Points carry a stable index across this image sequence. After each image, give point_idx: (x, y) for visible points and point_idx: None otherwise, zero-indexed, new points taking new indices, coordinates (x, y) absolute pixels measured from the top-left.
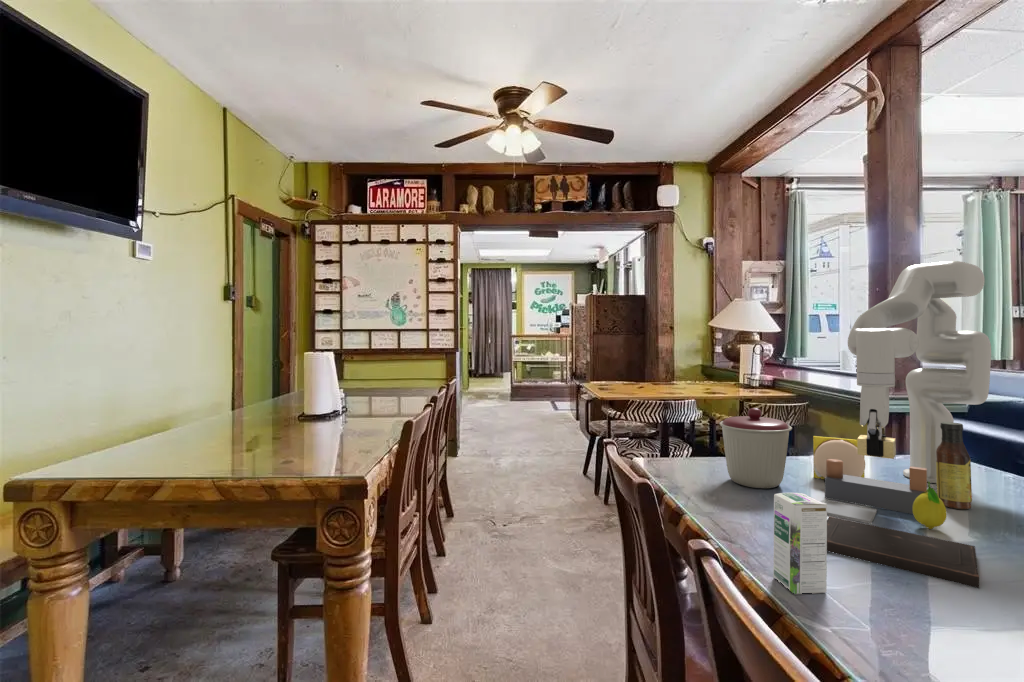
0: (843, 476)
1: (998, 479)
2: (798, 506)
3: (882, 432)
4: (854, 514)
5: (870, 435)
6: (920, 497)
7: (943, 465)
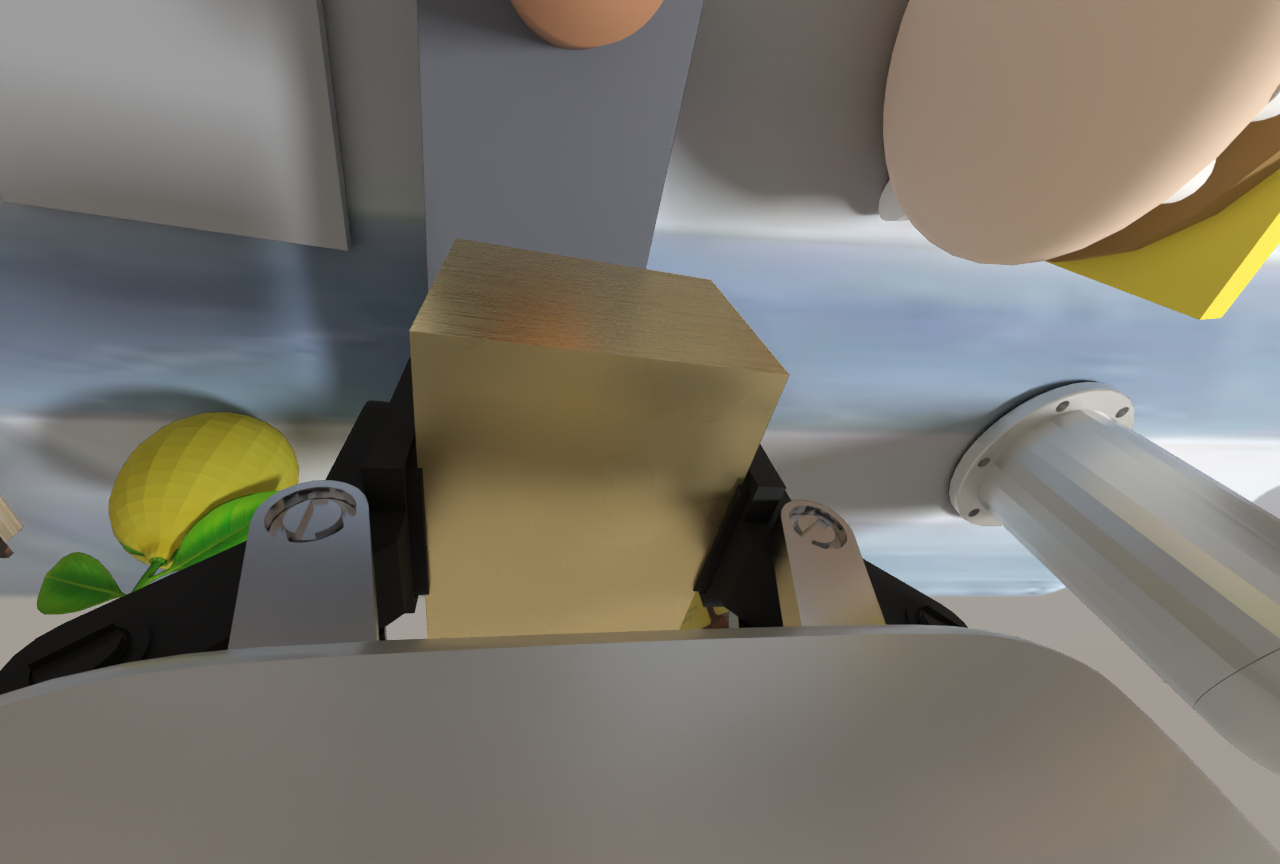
0: (609, 57)
1: (1021, 574)
2: None
3: (738, 625)
4: (58, 100)
5: (142, 603)
6: (125, 512)
7: (686, 623)
